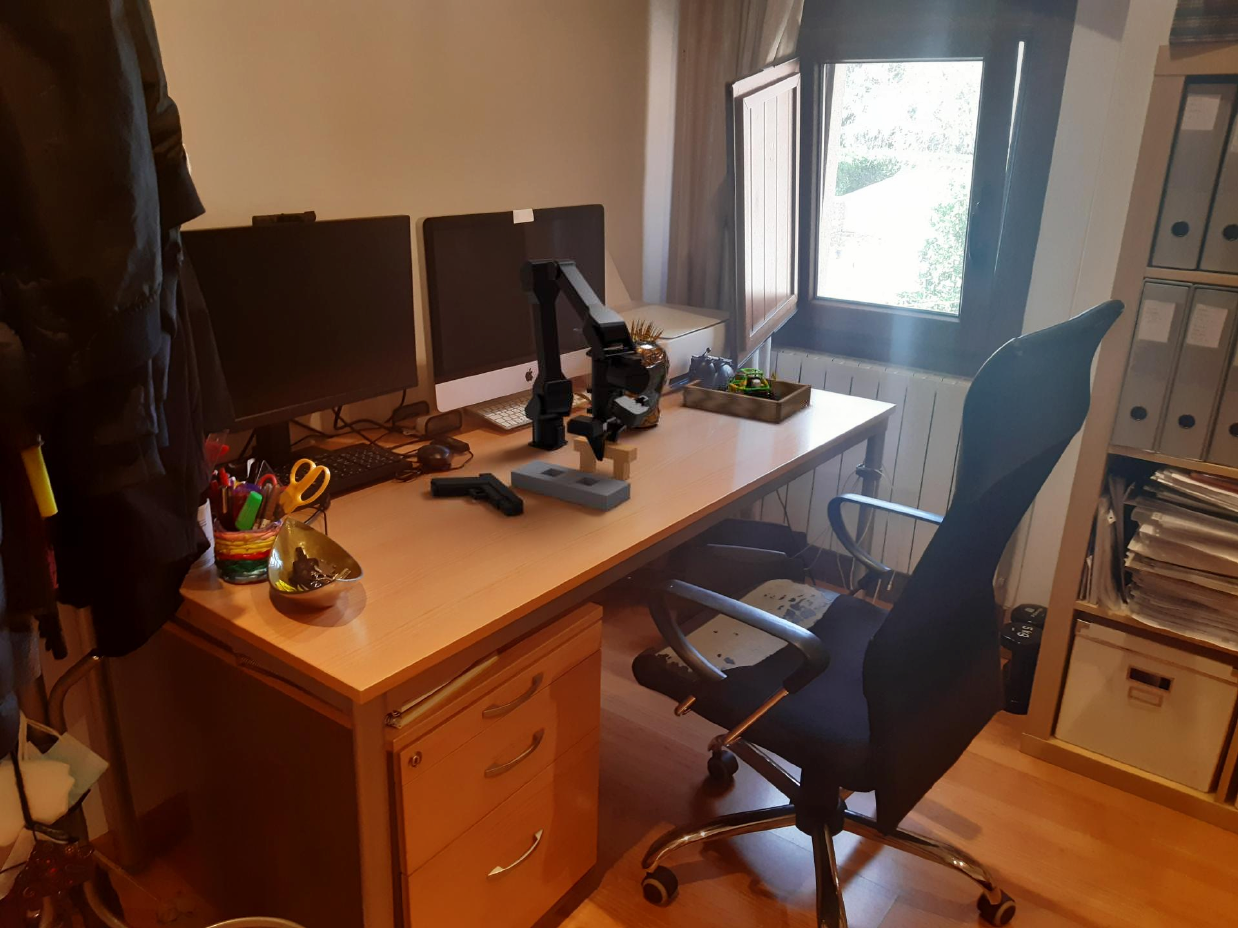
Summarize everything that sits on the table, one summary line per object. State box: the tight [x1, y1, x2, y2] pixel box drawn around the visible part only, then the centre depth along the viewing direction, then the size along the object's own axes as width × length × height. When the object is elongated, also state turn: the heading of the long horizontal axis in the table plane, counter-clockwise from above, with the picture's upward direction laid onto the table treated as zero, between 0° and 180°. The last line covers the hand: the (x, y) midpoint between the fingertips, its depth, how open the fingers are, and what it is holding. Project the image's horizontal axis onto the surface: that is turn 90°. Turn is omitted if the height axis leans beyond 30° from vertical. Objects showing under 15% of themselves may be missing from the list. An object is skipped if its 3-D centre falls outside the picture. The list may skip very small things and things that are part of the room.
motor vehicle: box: [718, 367, 781, 406], centre depth 229 cm, size 12×19×11 cm, turn 13°
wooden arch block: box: [573, 435, 638, 482], centre depth 182 cm, size 13×3×6 cm, turn 58°
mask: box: [619, 318, 671, 433], centre depth 211 cm, size 12×21×25 cm, turn 157°
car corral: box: [682, 372, 812, 424], centre depth 231 cm, size 26×20×5 cm
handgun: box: [429, 472, 525, 516], centre depth 167 cm, size 3×19×12 cm
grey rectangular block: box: [510, 459, 631, 512], centre depth 173 cm, size 22×8×3 cm, turn 58°
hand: (604, 458), depth 182 cm, fingers closed on wooden arch block, 3 cm apart
